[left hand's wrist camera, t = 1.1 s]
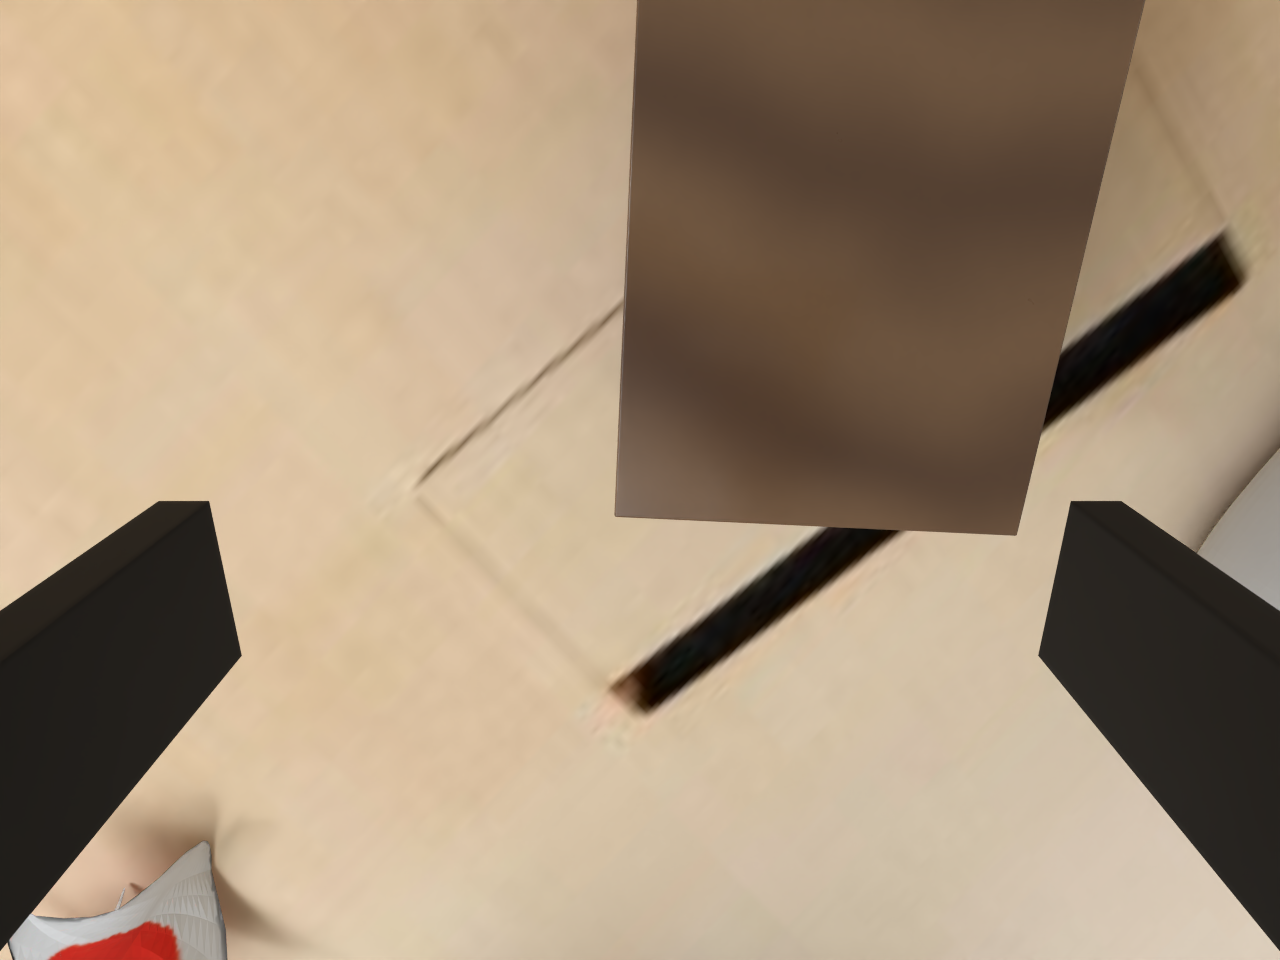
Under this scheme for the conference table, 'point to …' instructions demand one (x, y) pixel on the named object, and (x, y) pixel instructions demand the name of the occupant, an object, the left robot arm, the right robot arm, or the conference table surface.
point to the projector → (1251, 536)
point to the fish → (139, 922)
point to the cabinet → (856, 253)
